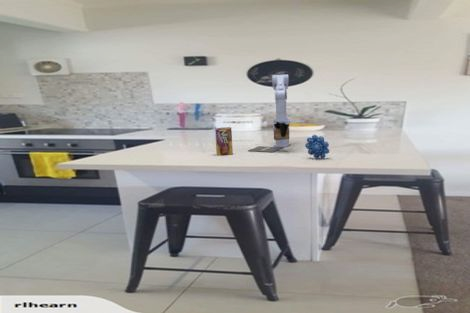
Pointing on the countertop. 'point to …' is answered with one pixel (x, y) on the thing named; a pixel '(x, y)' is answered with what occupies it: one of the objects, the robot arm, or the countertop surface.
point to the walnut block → (278, 134)
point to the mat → (265, 149)
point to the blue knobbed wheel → (317, 146)
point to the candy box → (224, 141)
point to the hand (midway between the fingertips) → (281, 136)
